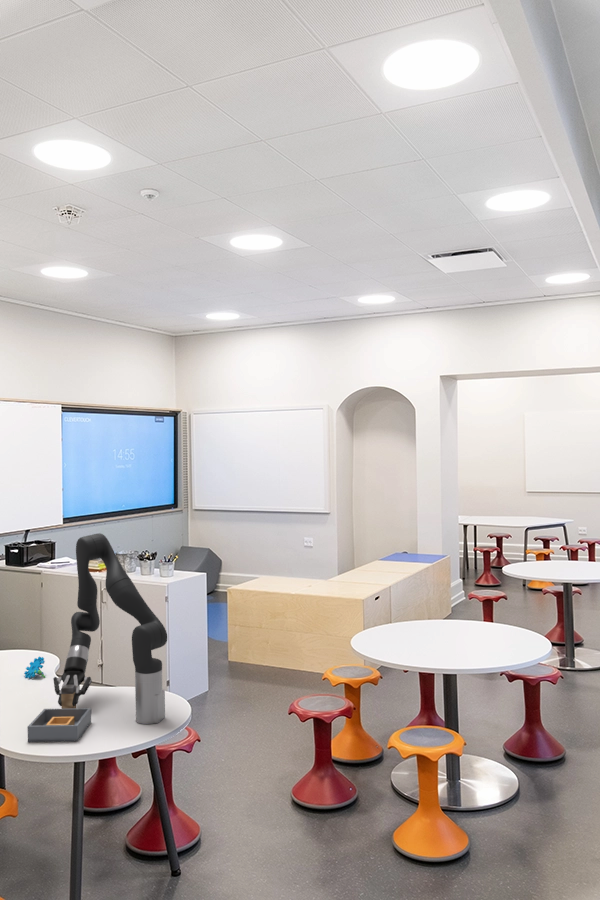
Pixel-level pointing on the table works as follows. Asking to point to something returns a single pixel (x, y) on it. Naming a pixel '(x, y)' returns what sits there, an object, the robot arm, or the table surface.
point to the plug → (67, 696)
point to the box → (59, 725)
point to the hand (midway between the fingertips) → (67, 705)
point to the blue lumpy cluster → (35, 668)
